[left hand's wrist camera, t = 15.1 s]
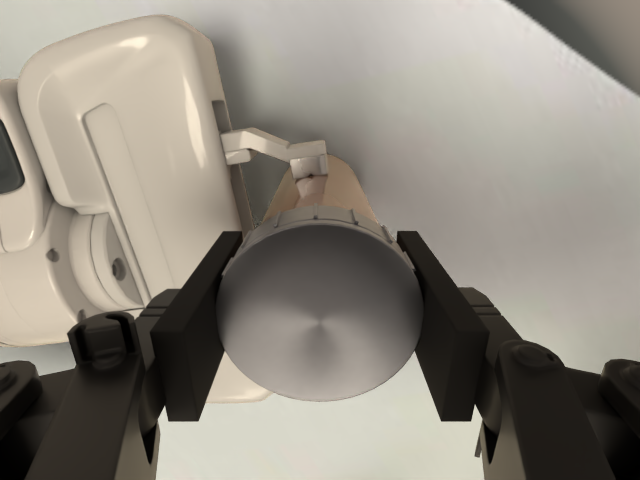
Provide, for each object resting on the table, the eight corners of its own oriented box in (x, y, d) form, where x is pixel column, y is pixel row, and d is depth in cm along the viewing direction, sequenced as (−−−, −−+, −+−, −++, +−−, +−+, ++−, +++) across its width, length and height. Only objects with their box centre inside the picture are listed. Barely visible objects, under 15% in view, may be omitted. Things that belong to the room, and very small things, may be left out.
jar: (375, 181, 25) (446, 285, 11) (331, 244, 26) (344, 403, 13) (306, 136, 23) (287, 190, 10) (265, 206, 25) (200, 334, 11)
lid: (307, 159, 11) (304, 171, 9) (451, 281, 12) (472, 311, 10) (191, 300, 12) (171, 332, 11) (329, 391, 14) (331, 432, 12)
